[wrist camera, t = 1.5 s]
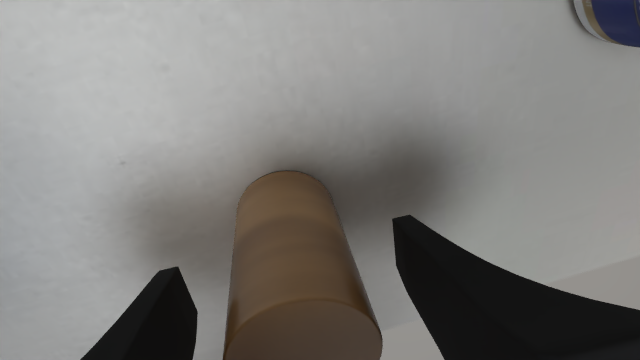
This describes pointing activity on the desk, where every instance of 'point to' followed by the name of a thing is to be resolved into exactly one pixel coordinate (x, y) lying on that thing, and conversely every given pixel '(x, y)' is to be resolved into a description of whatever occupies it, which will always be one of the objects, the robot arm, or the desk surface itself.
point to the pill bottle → (611, 20)
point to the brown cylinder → (295, 278)
